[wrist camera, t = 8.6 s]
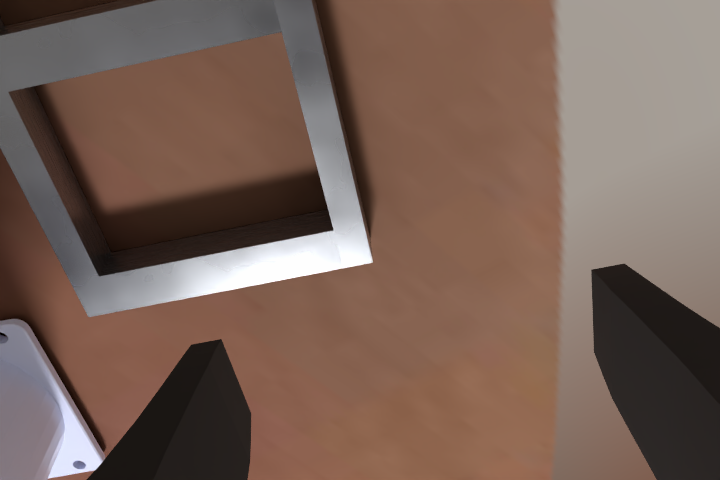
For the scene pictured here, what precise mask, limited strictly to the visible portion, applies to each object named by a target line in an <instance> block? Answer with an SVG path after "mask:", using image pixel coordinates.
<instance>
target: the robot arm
mask: <svg viewBox="0 0 720 480" xmlns="http://www.w3.org/2000/svg"><path fill="white" fill-rule="evenodd" d="M592 299H593V330H594V353H595V355H596V358H597V361H598V363H599V366H600V369H601V371H602V374H603V376H604V379H605V382H606V384H607V386H608V389H609V391H610V394H611V396H612V399H613V401H614V402H615V404H616V406H617V408H618V410H619V412H620V414H621V415H622V417H623V419H624V421H625V423H626V425H627V426H628V428H629V430H630V432H631V434H632V435H633V437H634V439H635V441H636V443H637V444H638V446H639V448H640V450H641V452H642V454H643V455H644V457H645V459H646V461H647V462H648V464H649V466H650V468H651V470H652V471H653V473H654V475H655V477H656V479H657V480H720V328H719V327H717V326H715V325H714V324H712V323H711V322H709V321H707V320H706V319H704V318H703V317H701V316H700V315H698V314H697V313H695V312H694V311H692V310H691V309H689V308H688V307H686V306H684V305H683V304H682V303H680V302H679V301H677V300H676V299H674V298H673V297H671V296H670V295H668V294H667V293H666V292H664V291H662V290H661V289H660V288H658V287H657V286H656V285H654V284H653V283H651V282H650V281H648V280H647V279H645V278H644V277H643V276H641V275H640V274H638V273H637V272H635V271H634V270H632V269H631V268H630V267H628V266H627V265H625V264H620V265H615V266H609V267H604V268H599V269H593V270H592ZM0 332H1V333H4V334H5V335H6V336H7V337H5V336H2V335H0V480H47V479H48V478H53V477H59V476H64V475H70V474H76V473H81V472H87V471H93V470H95V471H94V472H93V473H92V474H91V476H90V477H89V478H88V479H87V480H247V478H248V471H249V464H250V446H251V412H250V410H249V407H248V405H247V402H246V400H245V397H244V395H243V392H242V390H241V387H240V385H239V382H238V380H237V377H236V375H235V372H234V370H233V367H232V365H231V362H230V360H229V357H228V355H227V352H226V350H225V347H224V345H223V342H222V340H221V339H220V340H215V341H209V342H204V343H199V344H193V345H191V346H190V347H189V349H188V350H187V351H186V353H185V354H184V355H183V357H182V358H181V360H180V361H179V362H178V364H177V365H176V367H175V368H174V369H173V371H172V372H171V374H170V375H169V376H168V378H167V379H166V381H165V382H164V383H163V385H162V386H161V388H160V389H159V390H158V392H157V393H156V394H155V396H154V397H153V399H152V400H151V401H150V403H149V404H148V405H147V407H146V408H145V409H144V411H143V412H142V413H141V415H140V416H139V417H138V419H137V420H136V421H135V423H134V424H133V425H132V426H131V428H130V429H129V430H128V431H127V433H126V434H125V435H124V436H123V437H122V439H121V440H120V441H119V442H118V444H117V445H116V446H115V447H114V449H113V450H112V451H111V452H110V453H109V455H108V456H107V457H106V458H105V455H104V453H103V451H102V449H101V448H100V446H99V444H98V443H97V441H96V439H95V437H94V436H93V434H92V432H91V431H90V429H89V427H88V425H87V424H86V422H85V420H84V419H83V417H82V415H81V414H80V412H79V410H78V408H77V407H76V405H75V403H74V402H73V400H72V398H71V396H70V395H69V393H68V391H67V390H66V388H65V386H64V384H63V383H62V381H61V379H60V378H59V376H58V374H57V372H56V371H55V369H54V367H53V366H52V364H51V362H50V360H49V359H48V357H47V355H46V354H45V352H44V350H43V348H42V347H41V345H40V343H39V342H38V340H37V338H36V336H35V335H34V333H33V331H32V330H31V328H30V326H29V325H28V324H27V323H26V322H24V321H22V320H19V319H8V320H3V321H0ZM81 461H82V462H81Z"/></svg>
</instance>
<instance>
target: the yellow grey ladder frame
mask: <svg viewBox="0 0 720 480" xmlns="http://www.w3.org/2000/svg"><path fill="white" fill-rule="evenodd" d="M279 32H282V35H283V39H284V43H285V46H286V50H287V54H288V58H289V62H290V65H291V69H292V73H293V77H294V81H295V85H296V88H297V92H298V96H299V100H300V104H301V107H302V111H303V115H304V119H305V123H306V126H307V130H308V134H309V138H310V142H311V146H312V149H313V153H314V157H315V161H316V165H317V168H318V172H319V176H320V180H321V184H322V188H323V191H324V195H325V199H326V203H327V207H328V210H323V211H318V212H313V213H308V214H302V215H297V216H292V217H287V218H282V219H277V220H272V221H267V222H262V223H257V224H252V225H247V226H242V227H237V228H232V229H227V230H222V231H217V232H212V233H207V234H202V235H197V236H192V237H187V238H182V239H177V240H172V241H167V242H162V243H157V244H152V245H147V246H142V247H137V248H132V249H127V250H122V251H117V252H112V253H111V251H110V249H109V247H108V245H107V242H106V240H105V238H104V236H103V234H102V232H101V230H100V227H99V225H98V223H97V221H96V219H95V217H94V215H93V213H92V210H91V208H90V206H89V204H88V202H87V200H86V198H85V196H84V193H83V191H82V189H81V187H80V185H79V183H78V181H77V179H76V176H75V174H74V172H73V170H72V168H71V166H70V164H69V162H68V159H67V157H66V155H65V153H64V151H63V149H62V147H61V145H60V142H59V140H58V138H57V136H56V134H55V132H54V130H53V128H52V125H51V123H50V121H49V119H48V117H47V115H46V113H45V111H44V108H43V106H42V104H41V102H40V100H39V98H38V96H37V94H36V91H35V89H34V87H33V86H37V85H42V84H46V83H51V82H55V81H60V80H64V79H69V78H74V77H78V76H83V75H87V74H92V73H96V72H101V71H105V70H110V69H115V68H119V67H124V66H128V65H133V64H137V63H142V62H146V61H151V60H156V59H160V58H165V57H169V56H174V55H178V54H183V53H187V52H192V51H197V50H201V49H206V48H210V47H215V46H219V45H224V44H228V43H233V42H238V41H242V40H247V39H251V38H256V37H260V36H265V35H269V34H274V33H279ZM0 148H1V150H2V152H3V154H4V156H5V158H6V160H7V162H8V163H9V165H10V167H11V169H12V171H13V173H14V175H15V177H16V179H17V181H18V183H19V185H20V186H21V188H22V190H23V192H24V194H25V196H26V198H27V200H28V202H29V204H30V206H31V208H32V209H33V211H34V213H35V215H36V217H37V219H38V221H39V223H40V225H41V227H42V229H43V231H44V232H45V234H46V236H47V238H48V240H49V242H50V244H51V246H52V248H53V250H54V252H55V254H56V255H57V257H58V259H59V261H60V263H61V265H62V267H63V269H64V271H65V273H66V275H67V277H68V278H69V280H70V282H71V284H72V286H73V288H74V290H75V292H76V294H77V296H78V298H79V300H80V301H81V303H82V305H83V307H84V309H85V311H86V313H87V315H88V317H92V316H97V315H102V314H108V313H113V312H118V311H123V310H128V309H134V308H139V307H144V306H149V305H154V304H159V303H165V302H170V301H175V300H180V299H185V298H191V297H196V296H201V295H206V294H211V293H217V292H222V291H227V290H232V289H237V288H243V287H248V286H253V285H258V284H263V283H269V282H274V281H279V280H284V279H289V278H294V277H300V276H305V275H310V274H315V273H320V272H326V271H331V270H336V269H341V268H346V267H352V266H357V265H362V264H367V263H372V262H373V259H372V249H371V239H370V235H369V231H368V226H367V222H366V218H365V213H364V209H363V205H362V200H361V196H360V192H359V187H358V183H357V179H356V174H355V170H354V166H353V161H352V157H351V153H350V148H349V144H348V140H347V135H346V131H345V127H344V122H343V118H342V114H341V109H340V105H339V101H338V96H337V92H336V88H335V83H334V79H333V75H332V70H331V66H330V62H329V57H328V53H327V49H326V44H325V40H324V36H323V31H322V27H321V23H320V18H319V14H318V10H317V5H316V1H315V0H118V1H113V2H109V3H104V4H100V5H95V6H91V7H87V8H82V9H78V10H73V11H69V12H65V13H60V14H56V15H51V16H47V17H43V18H38V19H34V20H29V21H25V22H21V23H16V24H12V25H7V26H4V23H3V21H2V19H1V17H0Z"/></svg>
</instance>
